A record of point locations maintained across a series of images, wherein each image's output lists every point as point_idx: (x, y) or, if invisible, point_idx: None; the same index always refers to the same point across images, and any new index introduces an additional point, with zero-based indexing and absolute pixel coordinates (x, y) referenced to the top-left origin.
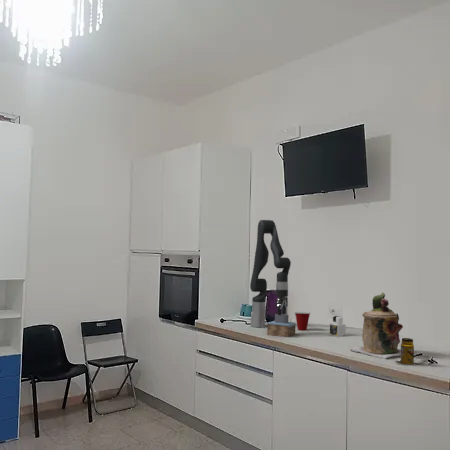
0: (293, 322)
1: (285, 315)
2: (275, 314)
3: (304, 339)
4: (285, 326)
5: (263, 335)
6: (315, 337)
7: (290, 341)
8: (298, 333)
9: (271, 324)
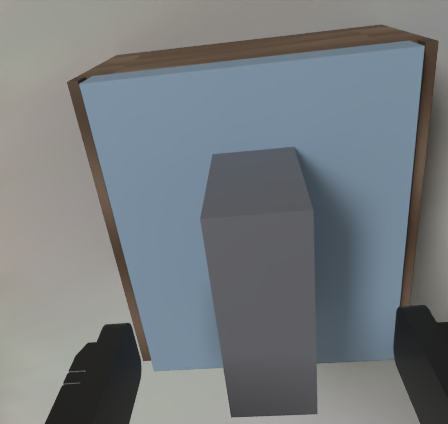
0: (385, 345)
1: (229, 398)
2: (209, 227)
3: (173, 394)
4: (136, 327)
5: (53, 34)
6: (313, 420)
7: (16, 355)
8: (435, 271)
9: (87, 153)
